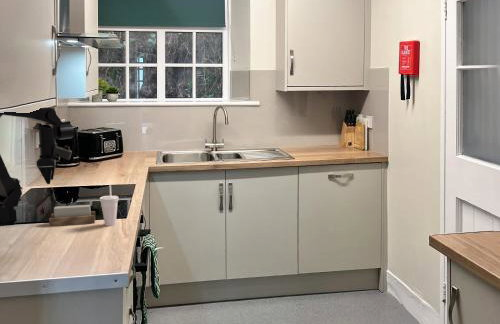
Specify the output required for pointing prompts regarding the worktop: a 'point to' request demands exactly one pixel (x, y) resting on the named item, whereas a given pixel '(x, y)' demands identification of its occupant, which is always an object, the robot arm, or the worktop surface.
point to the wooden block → (72, 220)
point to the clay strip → (72, 211)
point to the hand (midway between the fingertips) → (50, 181)
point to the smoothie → (109, 208)
